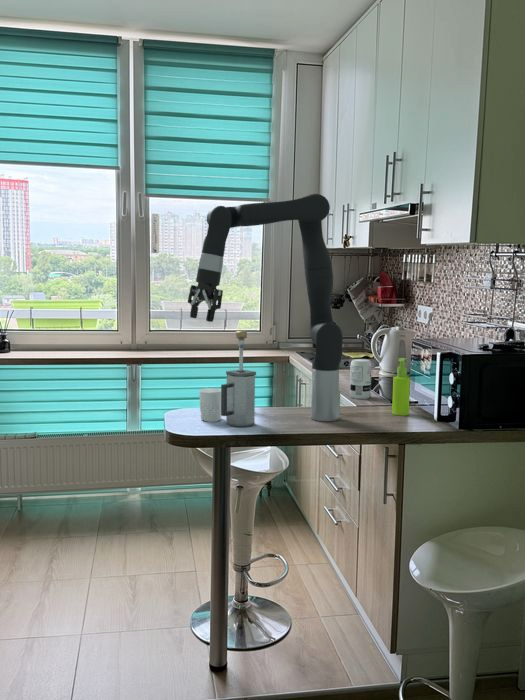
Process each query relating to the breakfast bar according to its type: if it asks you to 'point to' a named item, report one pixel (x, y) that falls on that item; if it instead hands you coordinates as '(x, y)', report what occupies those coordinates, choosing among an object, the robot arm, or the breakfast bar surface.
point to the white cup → (210, 404)
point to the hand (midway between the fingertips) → (201, 319)
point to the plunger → (241, 347)
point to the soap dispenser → (401, 390)
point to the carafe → (239, 399)
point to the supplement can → (360, 379)
